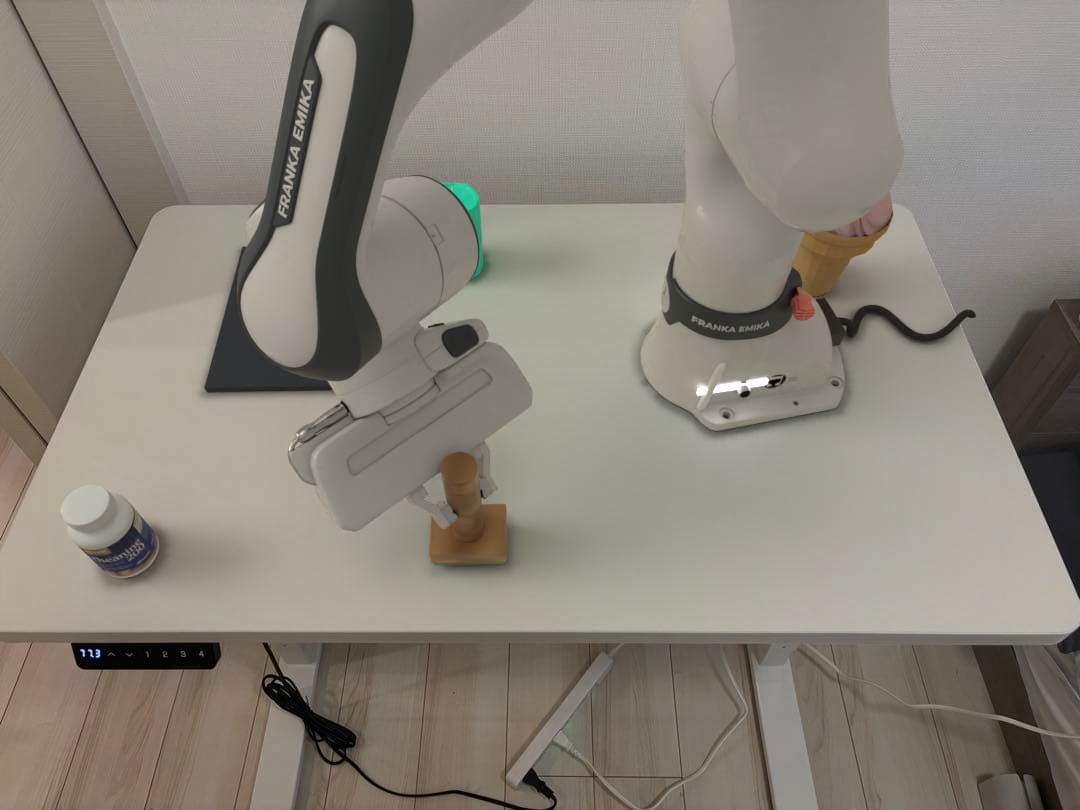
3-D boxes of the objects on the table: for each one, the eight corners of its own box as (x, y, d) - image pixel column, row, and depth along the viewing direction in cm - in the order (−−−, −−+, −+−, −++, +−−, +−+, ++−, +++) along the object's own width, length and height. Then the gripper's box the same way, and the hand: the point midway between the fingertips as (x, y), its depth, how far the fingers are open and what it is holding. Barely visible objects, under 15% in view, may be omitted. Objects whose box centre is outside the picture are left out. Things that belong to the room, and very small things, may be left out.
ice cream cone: (775, 317, 94) (827, 180, 77) (757, 252, 100) (802, 113, 84) (866, 315, 94) (937, 178, 78) (842, 251, 100) (903, 112, 84)
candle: (482, 282, 96) (477, 205, 87) (432, 282, 96) (422, 204, 87) (484, 248, 100) (480, 170, 90) (437, 247, 100) (427, 169, 90)
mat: (372, 249, 100) (371, 244, 99) (353, 389, 87) (352, 385, 86) (244, 251, 99) (242, 246, 99) (206, 392, 87) (204, 387, 86)
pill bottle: (107, 589, 73) (56, 543, 65) (97, 542, 76) (46, 492, 68) (166, 564, 75) (123, 516, 67) (154, 519, 78) (112, 467, 70)
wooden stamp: (506, 518, 77) (502, 440, 66) (507, 566, 74) (502, 493, 63) (435, 519, 77) (417, 442, 66) (432, 567, 74) (413, 495, 63)
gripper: (284, 446, 59) (381, 591, 62) (496, 309, 67) (572, 446, 70) (269, 441, 64) (360, 574, 68) (467, 315, 72) (538, 441, 76)
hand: (469, 508), depth 69 cm, fingers closed on wooden stamp, 3 cm apart
